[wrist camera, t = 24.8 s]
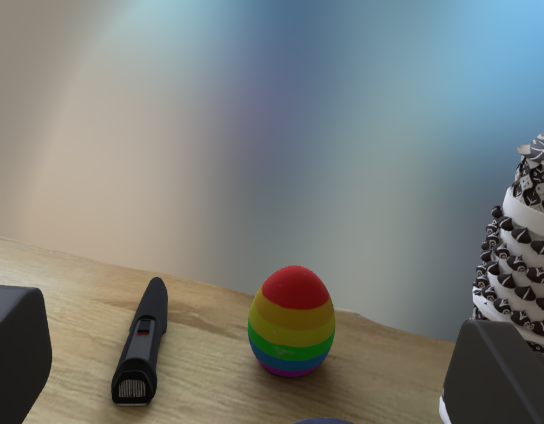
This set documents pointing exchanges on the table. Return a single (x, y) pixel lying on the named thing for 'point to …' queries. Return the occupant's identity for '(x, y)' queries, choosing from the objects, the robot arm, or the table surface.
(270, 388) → the table surface
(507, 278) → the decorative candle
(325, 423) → the slatted storage jar
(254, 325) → the decorative egg
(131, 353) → the electric trimmer
